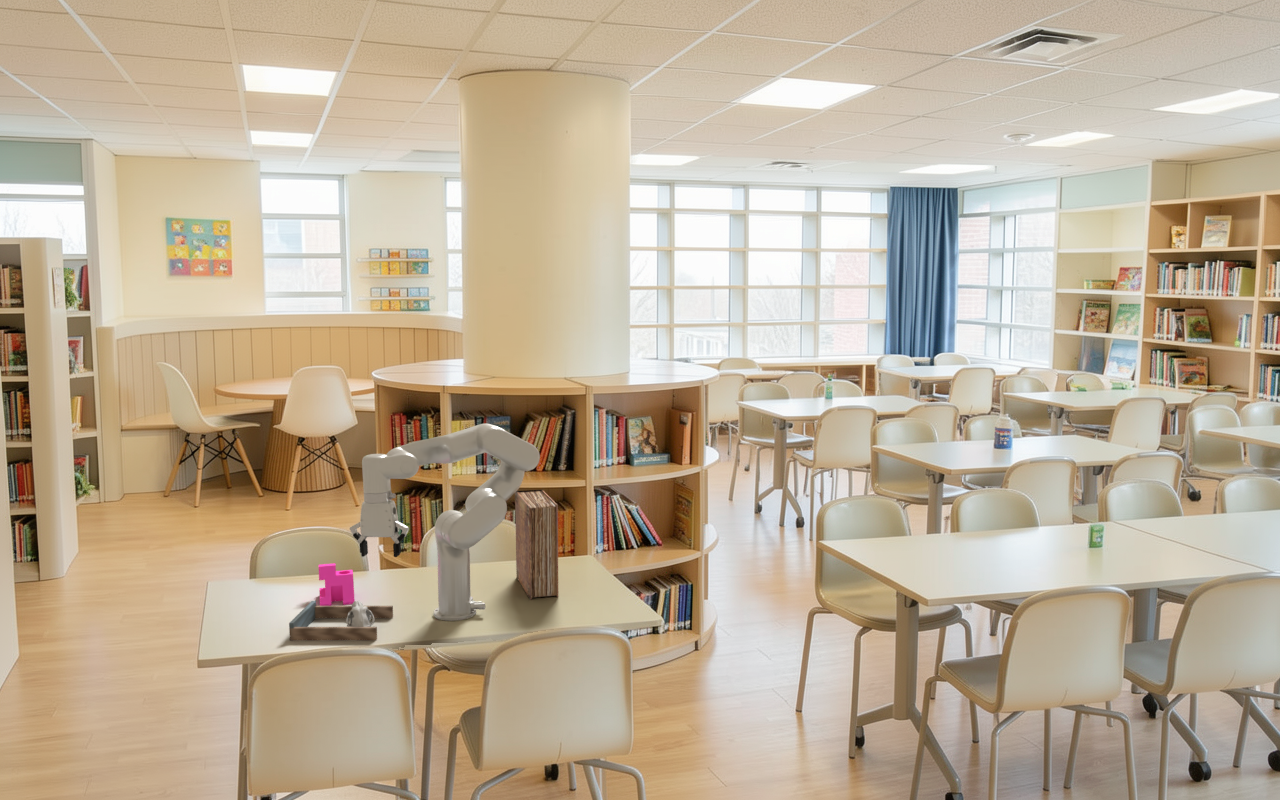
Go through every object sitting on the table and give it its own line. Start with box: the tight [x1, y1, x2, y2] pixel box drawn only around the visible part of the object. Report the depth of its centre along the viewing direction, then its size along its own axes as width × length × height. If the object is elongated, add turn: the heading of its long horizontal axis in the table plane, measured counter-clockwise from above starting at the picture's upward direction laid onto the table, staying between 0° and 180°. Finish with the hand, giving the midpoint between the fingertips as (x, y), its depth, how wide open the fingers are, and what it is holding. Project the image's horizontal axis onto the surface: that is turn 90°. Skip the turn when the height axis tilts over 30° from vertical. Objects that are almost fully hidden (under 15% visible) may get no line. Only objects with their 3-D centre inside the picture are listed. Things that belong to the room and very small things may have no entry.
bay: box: [288, 600, 394, 641], centre depth 280 cm, size 24×19×5 cm
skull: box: [345, 600, 375, 627], centre depth 280 cm, size 8×9×12 cm
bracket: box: [318, 563, 356, 606], centre depth 305 cm, size 12×10×10 cm
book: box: [514, 489, 559, 601], centre depth 317 cm, size 25×9×30 cm, turn 17°
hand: (380, 555), depth 279 cm, fingers open, 9 cm apart
